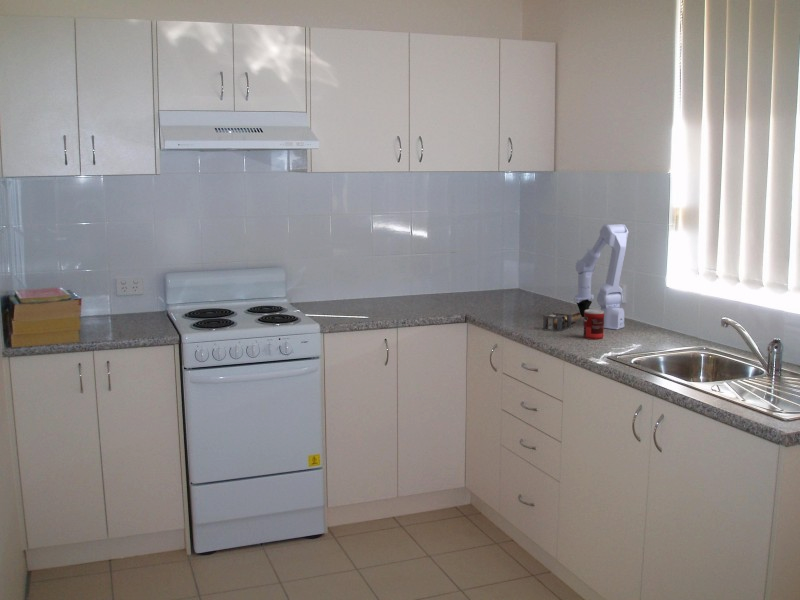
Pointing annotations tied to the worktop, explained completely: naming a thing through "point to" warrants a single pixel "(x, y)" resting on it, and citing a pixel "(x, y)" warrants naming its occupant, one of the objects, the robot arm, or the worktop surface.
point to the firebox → (559, 322)
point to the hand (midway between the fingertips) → (583, 316)
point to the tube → (575, 317)
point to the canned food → (593, 324)
